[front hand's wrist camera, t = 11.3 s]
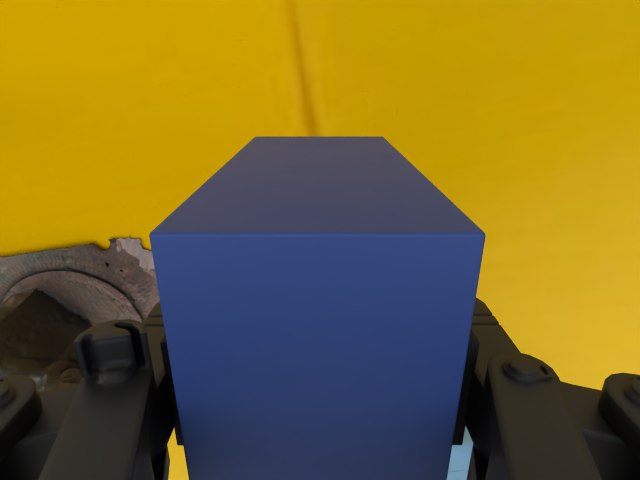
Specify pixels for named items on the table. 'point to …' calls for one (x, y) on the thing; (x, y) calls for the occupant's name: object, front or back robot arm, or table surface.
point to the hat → (68, 304)
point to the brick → (317, 314)
